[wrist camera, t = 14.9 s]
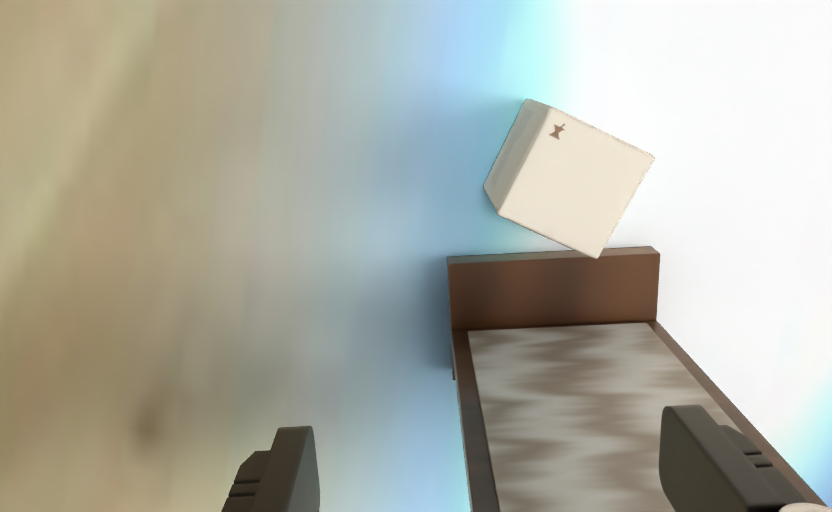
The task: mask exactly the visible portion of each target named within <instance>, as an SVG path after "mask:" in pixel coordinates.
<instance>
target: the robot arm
mask: <svg viewBox="0 0 832 512" xmlns="http://www.w3.org/2000/svg"><path fill="white" fill-rule="evenodd" d="M659 476H660V482H661V485H662V488H663V491H664V493H665V495H666V497H667V499H668V500H669V502H670V503H671V505H672V507H673V508H674V510H675V512H832V509H831V508H828V507H825V506H822V505H818V504H812V503H809V502H808V501H807V500H806V499H805V498H804V497H803V496H802V495H801V494H800V492H799V491H798V490H797V489H796V488H795V487H794V486H793V485H792V484H791V483H790V482H789V481H788V480H787V478H786V477H785V476H784V475H783V474H782V473H781V472H780V471H779V470H778V469H777V468H776V467H773V463H772V462H771V461H770V460H769V459H768V458H767V457H766V456H765V455H762V452H761V450H760V449H759V448H758V447H757V446H756V445H755V444H754V443H753V442H752V441H751V440H750V439H749V438H748V437H747V436H745V435H744V434H742V433H740V432H738V431H737V430H735V429H733V428H731V427H730V426H728V425H718V424H717V423H716V421H715V420H714V419H713V418H712V417H711V416H710V415H709V413H708V412H707V411H706V410H705V409H704V408H703V407H702V406H701V405H699V404H694V405H676V406H665V407H664V409H663V411H662V417H661V434H660V450H659ZM319 507H320V487H319V477H318V468H317V459H316V450H315V442H314V434H313V429H312V427H311V426H300V427H282V428H278V430H277V433H276V436H275V439H274V441H273V444H272V447H271V450H269V451H255V452H254V453H253V454H252V455H251V456H250V457H249V458H248V459H247V460H246V461H245V462H244V463H243V464H242V465H241V466H240V468H239V470H238V473H237V475H236V478H235V480H234V484H233V485H232V487H231V490H230V492H229V497H228V498H227V499H226V502H225V504H224V507H223V509H222V512H319Z"/></svg>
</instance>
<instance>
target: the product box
mask: <svg viewBox="0 0 832 512" xmlns="http://www.w3.org/2000/svg"><path fill="white" fill-rule="evenodd" d="M654 159H655V157H654V156H653V155H651V154H649V153H647V152H645V151H643V150H641V149H639V148H637V147H634V146H632V145H630V144H628V143H626V142H624V141H622V140H620V139H618V138H616V137H614V136H611V135H609V134H607V133H605V132H603V131H601V130H599V129H597V128H595V127H593V126H591V125H589V124H587V123H585V122H583V121H581V120H579V119H577V118H575V117H573V116H570V115H568V114H566V113H564V112H562V111H560V110H558V109H556V108H554V107H551V106H549V105H546V104H543V103H540V102H537V101H534V100H531V99H526V100H525V102H524V103H523V105H522V108H521V110H520V112H519V114H518V116H517V118H516V120H515V122H514V124H513V126H512V128H511V130H510V132H509V134H508V136H507V138H506V140H505V142H504V144H503V146H502V148H501V150H500V152H499V154H498V156H497V158H496V160H495V162H494V165H493V167H492V169H491V171H490V173H489V175H488V177H487V179H486V181H485V183H484V186H483V187H484V189H485V191H486V193H487V195H488V197H489V198H490V200H491V202H492V204H493V206H494V207H495V209H496V211H497V213H498V215H500V216H502V217H504V218H506V219H508V220H510V221H512V222H514V223H517V224H519V225H521V226H523V227H525V228H527V229H529V230H531V231H534V232H536V233H538V234H540V235H542V236H545V237H547V238H549V239H551V240H553V241H556V242H558V243H560V244H562V245H564V246H567V247H569V248H571V249H573V250H576V251H578V252H580V253H583V254H585V255H588V256H590V257H593V258H595V259H597V258H598V257H599V256H600V254H601V252H602V250H603V248H604V247H605V245H606V243H607V241H608V240H609V238H610V236H611V234H612V233H613V231H614V229H615V227H616V225H617V224H618V222H619V220H620V218H621V216H622V214H623V213H624V211H625V209H626V207H627V205H628V204H629V202H630V200H631V198H632V197H633V195H634V193H635V191H636V190H637V188H638V186H639V184H640V183H641V181H642V179H643V177H644V176H645V174H646V172H647V171H648V169H649V167H650V165H651V164H652V162H653V161H654Z"/></svg>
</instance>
